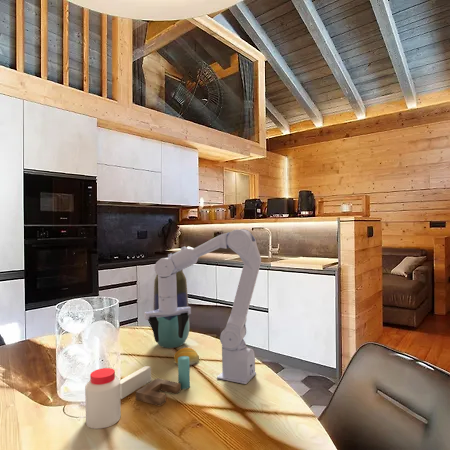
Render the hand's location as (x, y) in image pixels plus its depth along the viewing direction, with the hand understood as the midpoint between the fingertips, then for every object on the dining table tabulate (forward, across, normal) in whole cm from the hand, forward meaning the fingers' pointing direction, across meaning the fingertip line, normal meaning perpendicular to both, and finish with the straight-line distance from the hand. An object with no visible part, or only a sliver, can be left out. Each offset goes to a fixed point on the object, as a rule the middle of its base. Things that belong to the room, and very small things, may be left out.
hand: (168, 339), depth 108 cm
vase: (+10, -7, -23) cm, 26 cm away
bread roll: (+10, -7, -5) cm, 14 cm away
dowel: (+10, -1, +12) cm, 16 cm away
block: (+10, +7, +14) cm, 18 cm away
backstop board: (+10, +12, +7) cm, 17 cm away
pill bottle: (+10, +21, +20) cm, 31 cm away
